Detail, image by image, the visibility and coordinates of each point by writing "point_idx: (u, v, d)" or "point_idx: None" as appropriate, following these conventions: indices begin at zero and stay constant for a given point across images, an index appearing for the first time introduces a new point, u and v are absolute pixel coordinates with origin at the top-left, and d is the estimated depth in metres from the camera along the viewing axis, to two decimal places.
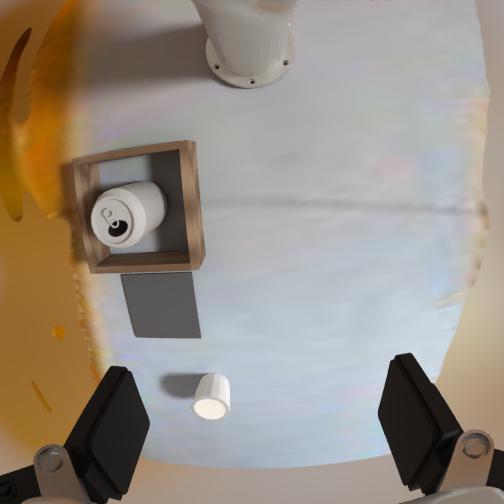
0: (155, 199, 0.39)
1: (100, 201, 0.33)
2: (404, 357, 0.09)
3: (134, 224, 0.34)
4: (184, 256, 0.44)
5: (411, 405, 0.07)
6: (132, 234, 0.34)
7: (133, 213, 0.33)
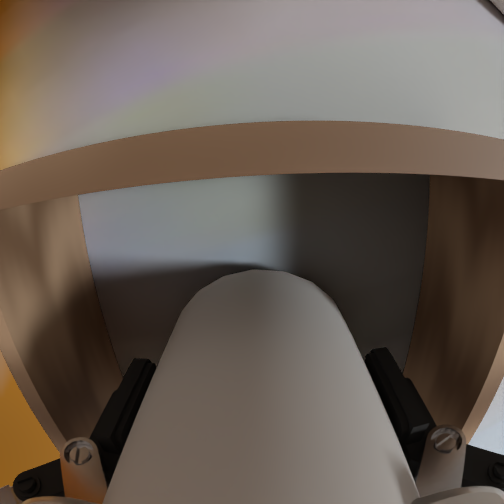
0: (377, 391, 0.08)
1: None
2: (379, 351, 0.10)
3: None
4: None
5: (383, 398, 0.08)
6: None
7: None
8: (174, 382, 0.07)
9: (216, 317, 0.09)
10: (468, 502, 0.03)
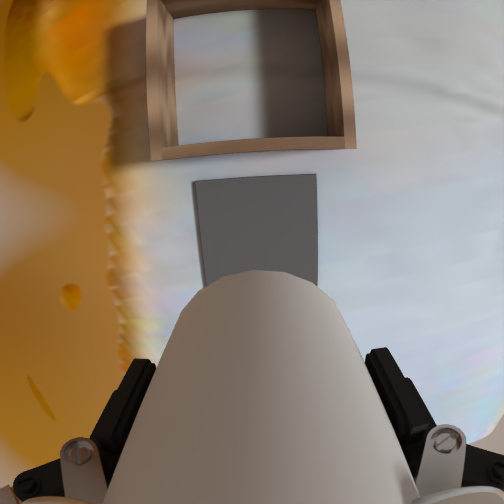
0: None
1: None
2: (379, 351, 0.10)
3: None
4: None
5: (383, 398, 0.08)
6: None
7: None
8: (174, 383, 0.07)
9: (216, 318, 0.09)
10: (468, 502, 0.03)
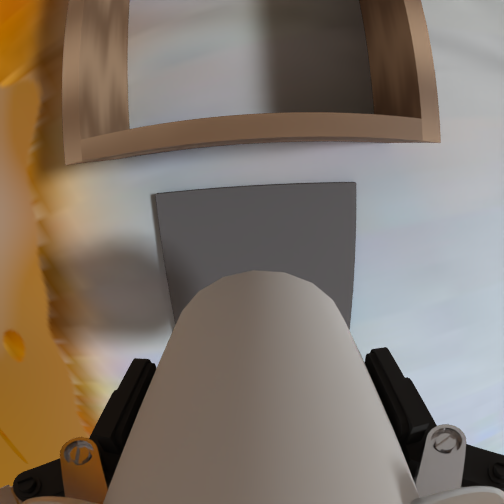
0: (377, 392, 0.08)
1: None
2: (379, 351, 0.10)
3: None
4: None
5: (383, 398, 0.08)
6: None
7: None
8: (174, 384, 0.07)
9: (216, 318, 0.09)
10: (468, 502, 0.03)
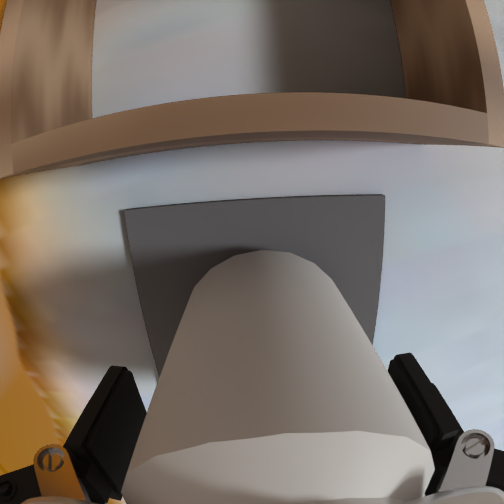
0: None
1: None
2: (404, 357, 0.09)
3: None
4: None
5: (411, 405, 0.07)
6: None
7: None
8: (201, 336, 0.08)
9: (234, 285, 0.10)
10: (468, 502, 0.03)
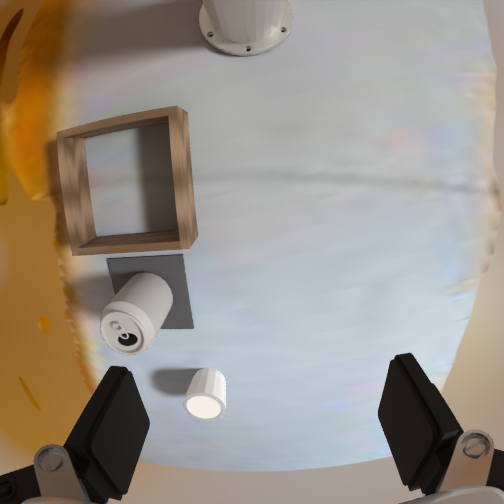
0: (162, 302, 0.40)
1: (108, 315, 0.33)
2: (404, 357, 0.09)
3: (144, 340, 0.34)
4: (174, 235, 0.40)
5: (411, 405, 0.07)
6: (142, 347, 0.34)
7: (143, 331, 0.34)
8: (119, 291, 0.38)
9: (130, 282, 0.40)
10: (468, 502, 0.03)
